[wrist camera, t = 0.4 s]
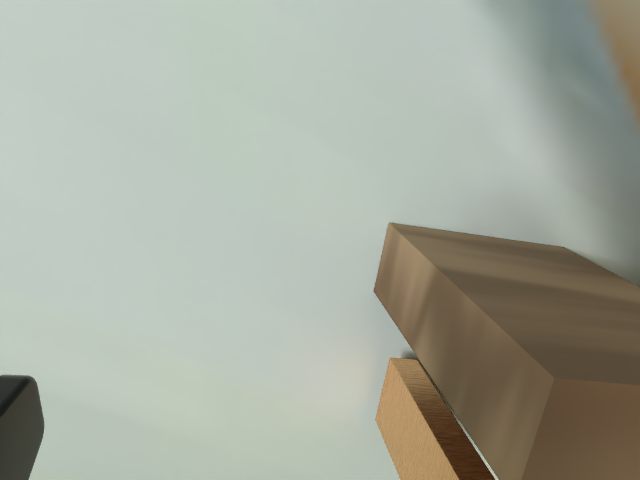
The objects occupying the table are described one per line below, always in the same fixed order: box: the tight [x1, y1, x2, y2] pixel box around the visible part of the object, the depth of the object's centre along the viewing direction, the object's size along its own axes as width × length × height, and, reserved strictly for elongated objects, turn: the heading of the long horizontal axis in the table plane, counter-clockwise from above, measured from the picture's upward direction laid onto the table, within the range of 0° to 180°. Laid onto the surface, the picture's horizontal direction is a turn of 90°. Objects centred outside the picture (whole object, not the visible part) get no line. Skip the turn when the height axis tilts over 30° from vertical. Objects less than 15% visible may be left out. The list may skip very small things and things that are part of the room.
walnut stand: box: [374, 223, 640, 480], centre depth 19 cm, size 9×8×12 cm
